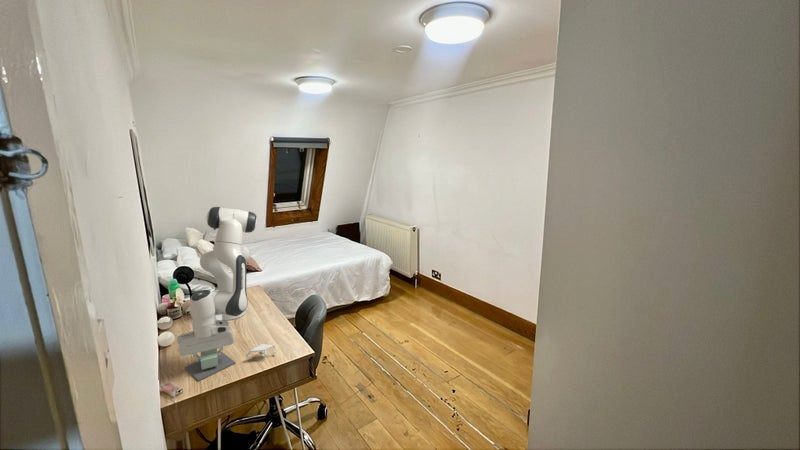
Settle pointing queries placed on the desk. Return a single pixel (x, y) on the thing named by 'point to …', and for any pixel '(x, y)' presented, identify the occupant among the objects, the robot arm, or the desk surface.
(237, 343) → the desk surface
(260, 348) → the origami figure
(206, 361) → the card box
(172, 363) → the desk surface
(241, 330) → the desk surface
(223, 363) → the rubber mat
